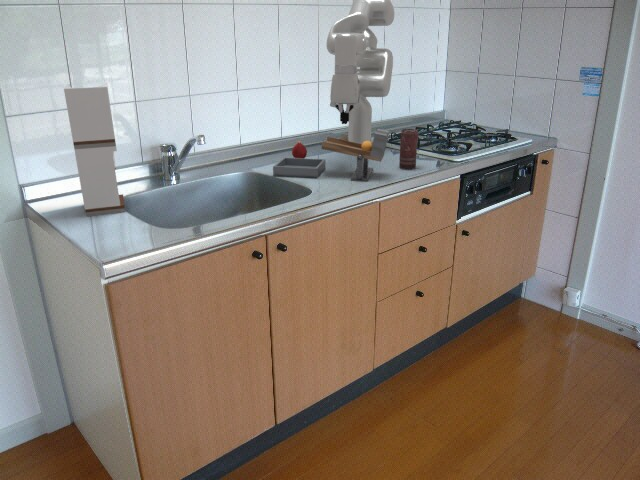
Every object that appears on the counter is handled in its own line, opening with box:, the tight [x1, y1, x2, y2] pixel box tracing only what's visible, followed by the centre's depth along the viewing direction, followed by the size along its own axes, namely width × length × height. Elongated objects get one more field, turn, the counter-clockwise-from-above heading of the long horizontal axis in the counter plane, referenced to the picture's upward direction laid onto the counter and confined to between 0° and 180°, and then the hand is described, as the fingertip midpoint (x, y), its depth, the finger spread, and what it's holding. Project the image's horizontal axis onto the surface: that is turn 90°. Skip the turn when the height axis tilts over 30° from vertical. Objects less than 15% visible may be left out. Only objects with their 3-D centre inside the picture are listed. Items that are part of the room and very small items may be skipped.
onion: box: [291, 140, 308, 158], centre depth 213 cm, size 6×6×8 cm
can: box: [398, 128, 419, 171], centre depth 201 cm, size 6×6×14 cm
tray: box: [272, 157, 327, 179], centre depth 198 cm, size 14×16×4 cm
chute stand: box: [350, 154, 375, 182], centre depth 193 cm, size 15×6×9 cm, turn 168°
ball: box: [361, 141, 373, 151], centre depth 190 cm, size 4×4×4 cm
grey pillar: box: [63, 82, 126, 217], centre depth 155 cm, size 11×11×35 cm
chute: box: [321, 128, 390, 162], centre depth 194 cm, size 17×21×9 cm
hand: (344, 123), depth 199 cm, fingers closed
